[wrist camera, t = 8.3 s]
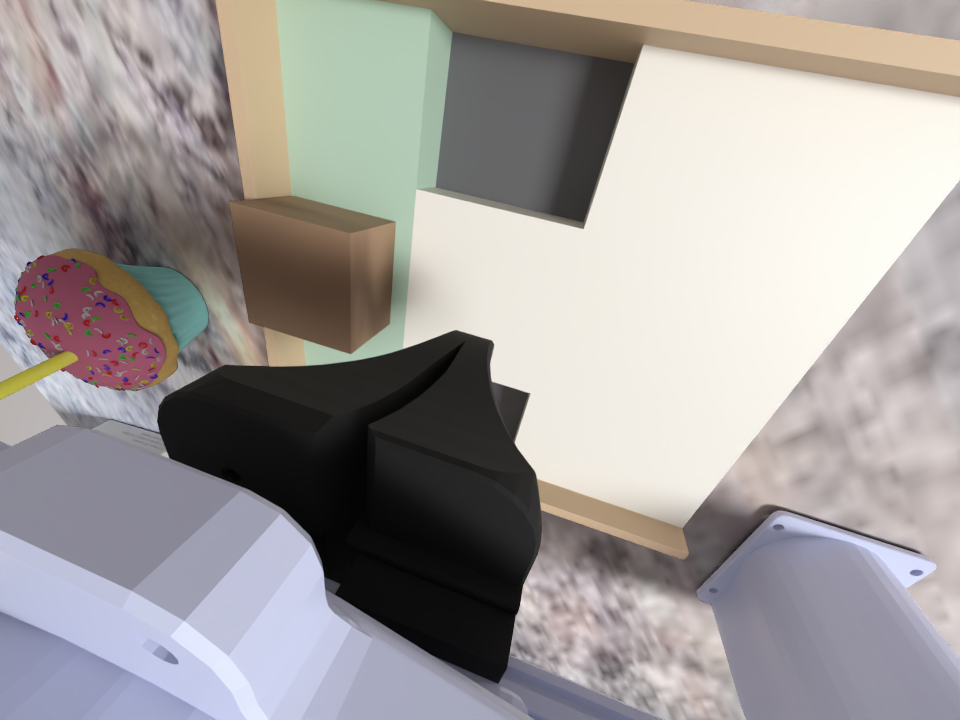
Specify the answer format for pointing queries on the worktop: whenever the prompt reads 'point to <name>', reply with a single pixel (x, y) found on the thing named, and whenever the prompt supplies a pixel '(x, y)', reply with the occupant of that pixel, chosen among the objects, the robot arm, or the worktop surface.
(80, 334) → the cupcake
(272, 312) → the walnut block
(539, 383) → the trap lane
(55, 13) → the worktop surface
